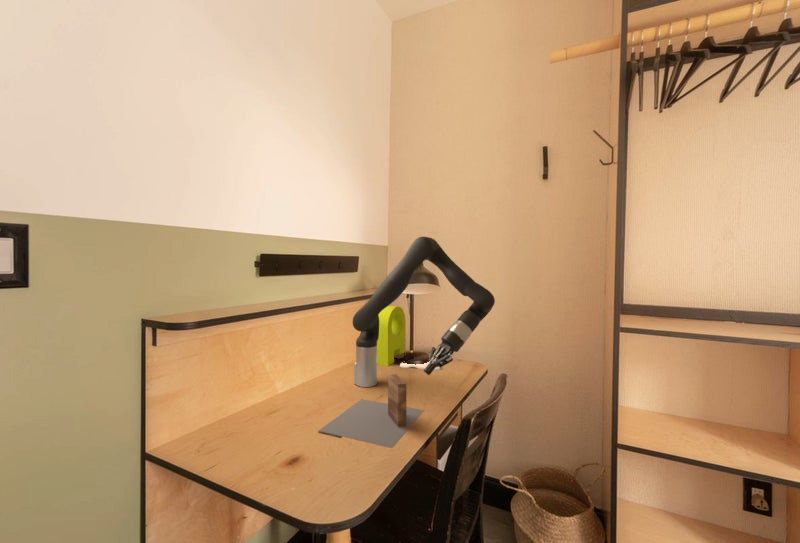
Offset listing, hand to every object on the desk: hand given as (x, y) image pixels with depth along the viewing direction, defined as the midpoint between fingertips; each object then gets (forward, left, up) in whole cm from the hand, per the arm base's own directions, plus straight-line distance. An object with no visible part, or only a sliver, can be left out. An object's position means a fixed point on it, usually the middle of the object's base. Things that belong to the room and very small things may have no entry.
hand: (426, 373), depth 123 cm
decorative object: (-40, +58, -16) cm, 72 cm away
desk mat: (-15, -11, -15) cm, 24 cm away
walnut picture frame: (-8, -8, -15) cm, 18 cm away
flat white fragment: (-23, +62, -16) cm, 68 cm away
